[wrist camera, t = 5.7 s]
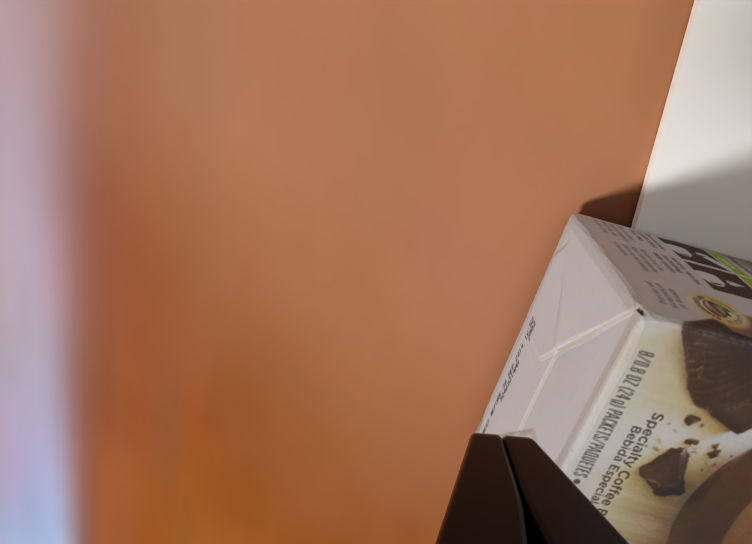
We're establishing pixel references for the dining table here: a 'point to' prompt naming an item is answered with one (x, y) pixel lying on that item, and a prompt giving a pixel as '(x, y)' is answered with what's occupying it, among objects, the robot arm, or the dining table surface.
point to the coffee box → (639, 382)
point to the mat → (706, 137)
